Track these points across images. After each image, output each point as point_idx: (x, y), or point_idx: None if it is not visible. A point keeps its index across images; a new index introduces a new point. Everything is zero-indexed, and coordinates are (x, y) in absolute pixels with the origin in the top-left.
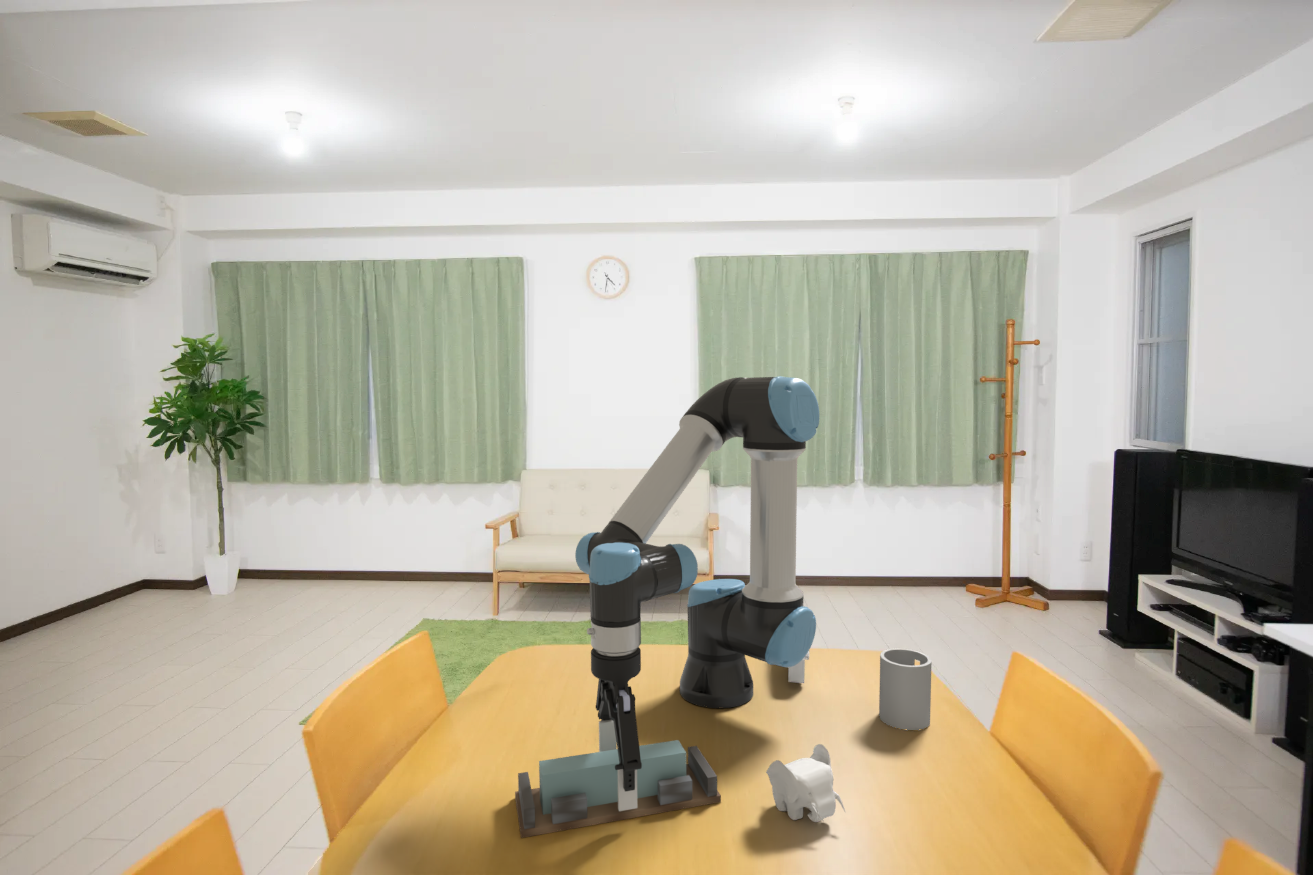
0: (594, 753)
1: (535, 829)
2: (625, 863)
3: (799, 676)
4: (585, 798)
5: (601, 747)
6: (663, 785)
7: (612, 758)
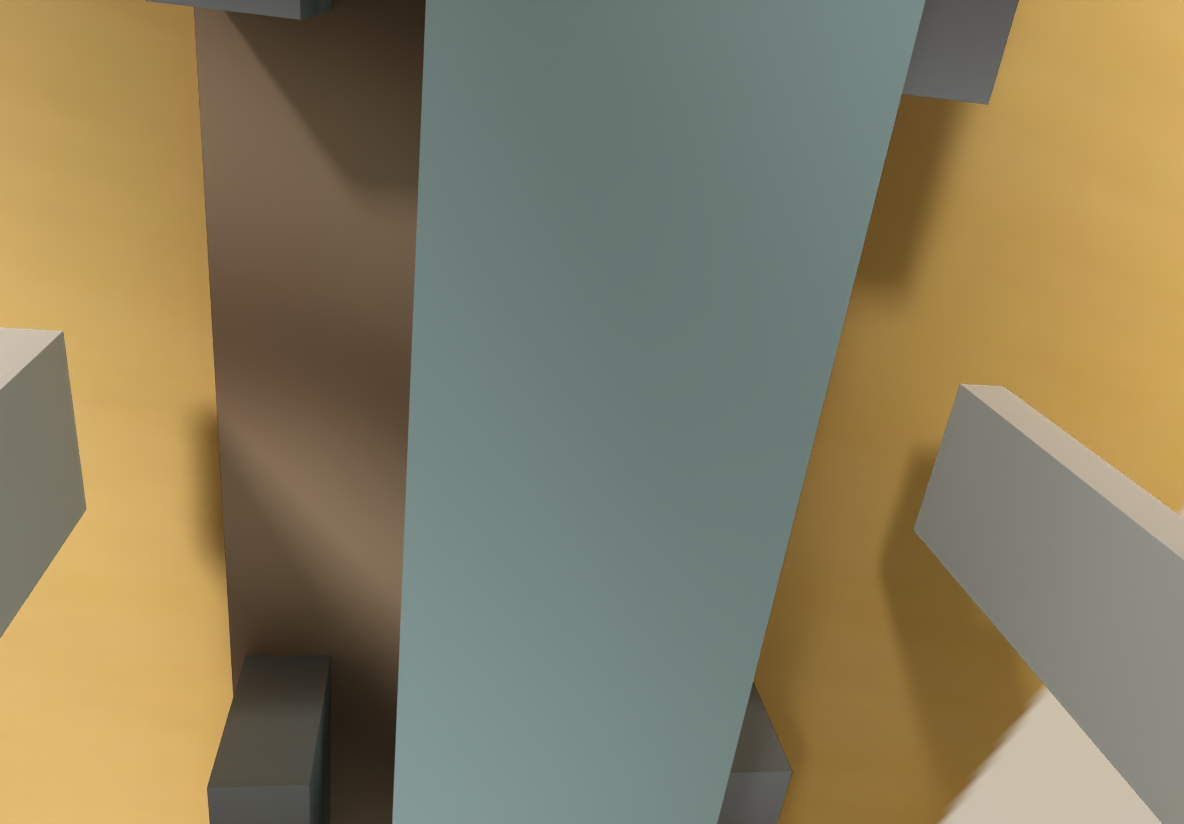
0: None
1: None
2: (1175, 498)
3: None
4: (787, 780)
5: (8, 599)
6: (997, 61)
7: (625, 684)
